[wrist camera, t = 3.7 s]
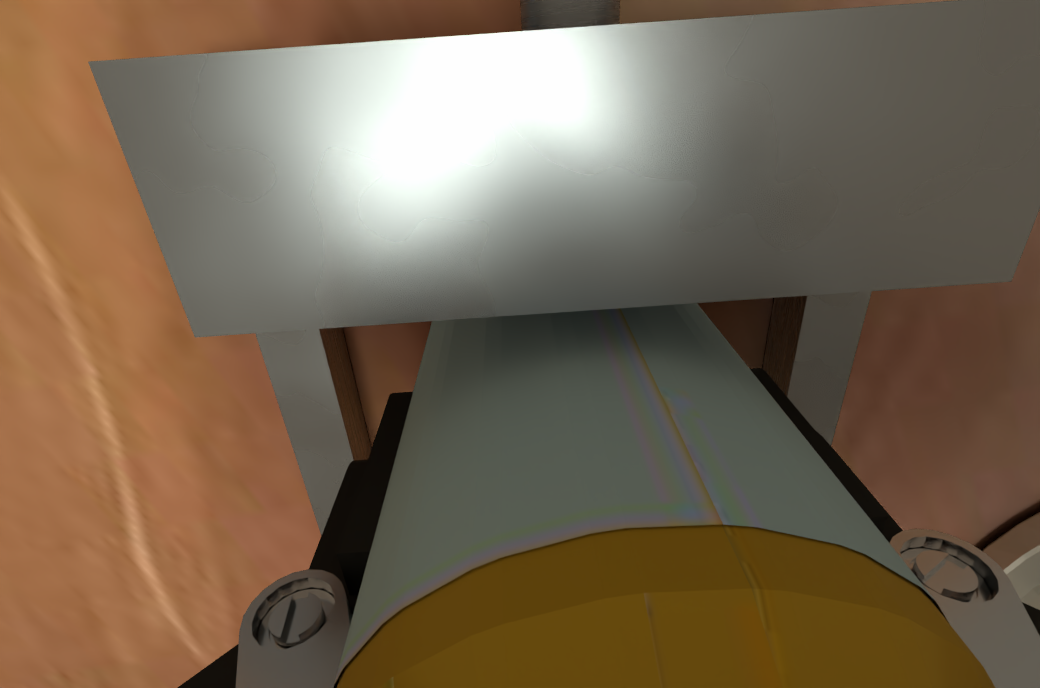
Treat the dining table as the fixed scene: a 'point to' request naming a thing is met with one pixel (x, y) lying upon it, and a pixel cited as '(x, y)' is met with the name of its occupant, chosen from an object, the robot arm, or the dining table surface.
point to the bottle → (626, 526)
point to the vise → (584, 181)
